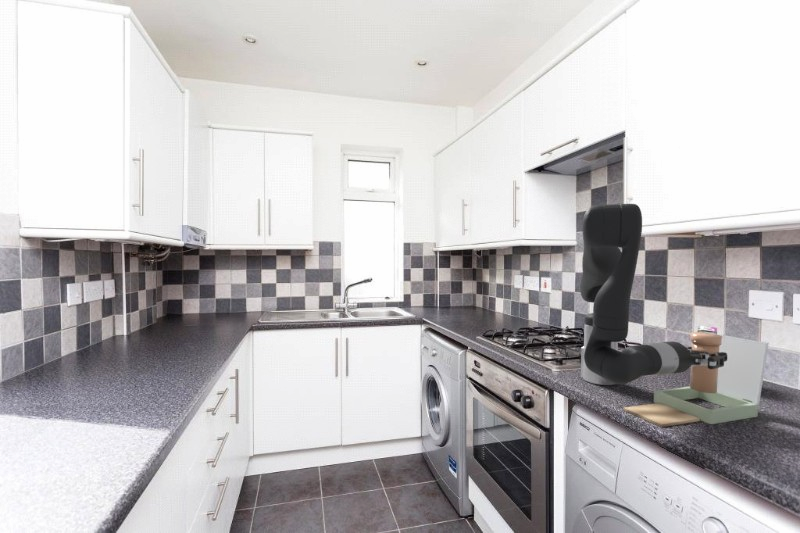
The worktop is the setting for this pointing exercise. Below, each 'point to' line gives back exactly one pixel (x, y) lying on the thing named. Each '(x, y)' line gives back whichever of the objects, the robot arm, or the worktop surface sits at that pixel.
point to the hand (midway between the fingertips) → (711, 353)
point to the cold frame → (729, 412)
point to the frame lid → (742, 368)
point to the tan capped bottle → (702, 375)
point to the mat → (661, 414)
